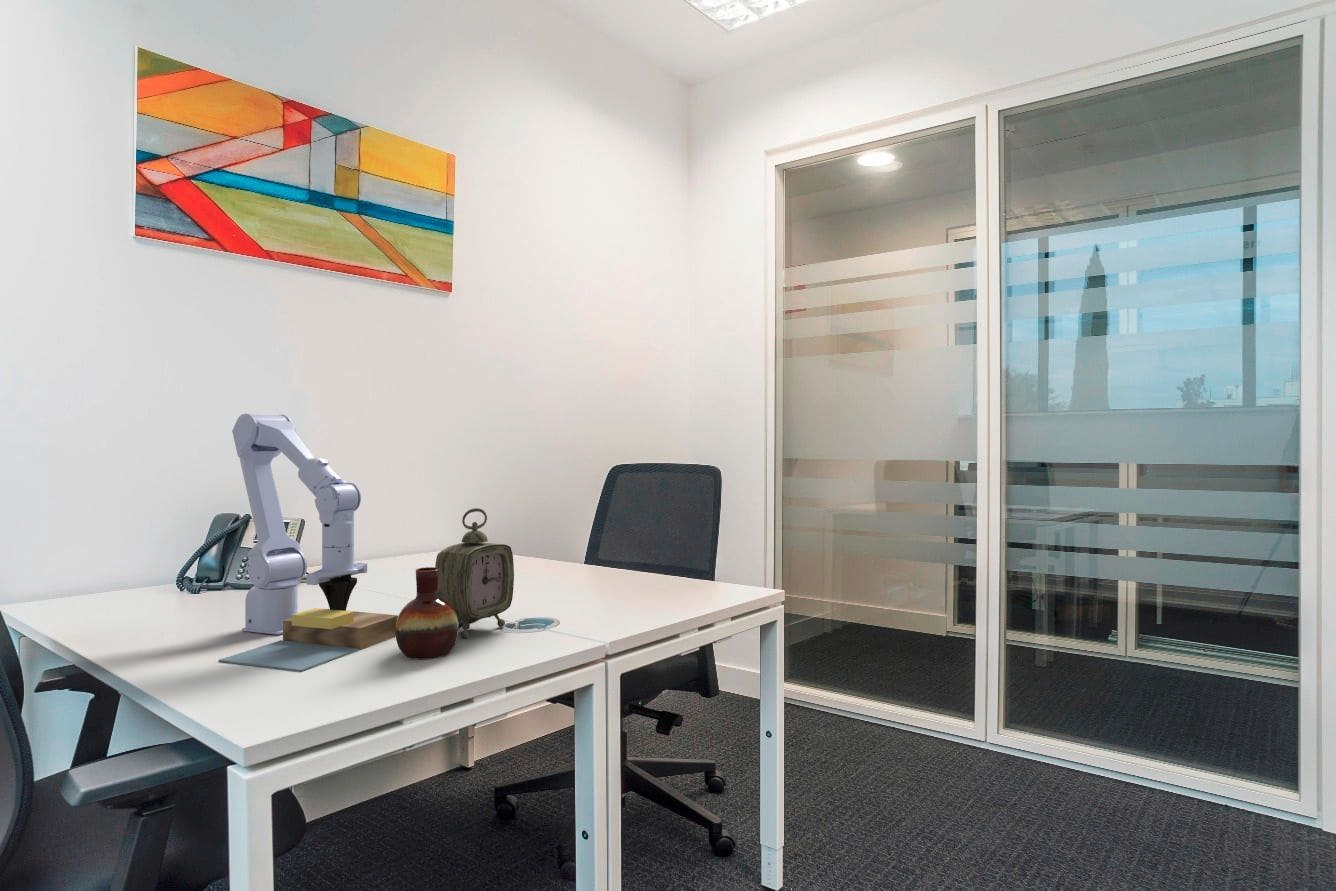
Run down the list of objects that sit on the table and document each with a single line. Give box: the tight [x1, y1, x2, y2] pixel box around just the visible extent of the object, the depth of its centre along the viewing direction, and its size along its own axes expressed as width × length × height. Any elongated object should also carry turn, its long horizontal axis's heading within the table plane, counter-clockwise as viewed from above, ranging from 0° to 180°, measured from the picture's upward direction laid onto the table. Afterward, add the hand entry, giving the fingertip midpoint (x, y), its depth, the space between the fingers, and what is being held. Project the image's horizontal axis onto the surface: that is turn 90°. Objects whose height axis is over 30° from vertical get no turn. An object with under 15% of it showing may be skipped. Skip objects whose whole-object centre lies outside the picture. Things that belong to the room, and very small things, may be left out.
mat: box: [218, 639, 360, 673], centre depth 142 cm, size 18×14×1 cm
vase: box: [395, 566, 460, 660], centre depth 144 cm, size 11×11×15 cm
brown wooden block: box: [282, 610, 399, 651], centre depth 154 cm, size 18×11×4 cm, turn 72°
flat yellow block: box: [292, 607, 354, 629], centre depth 149 cm, size 9×6×2 cm, turn 72°
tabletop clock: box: [434, 507, 515, 639], centre depth 160 cm, size 14×9×25 cm, turn 151°
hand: (338, 615), depth 153 cm, fingers closed
